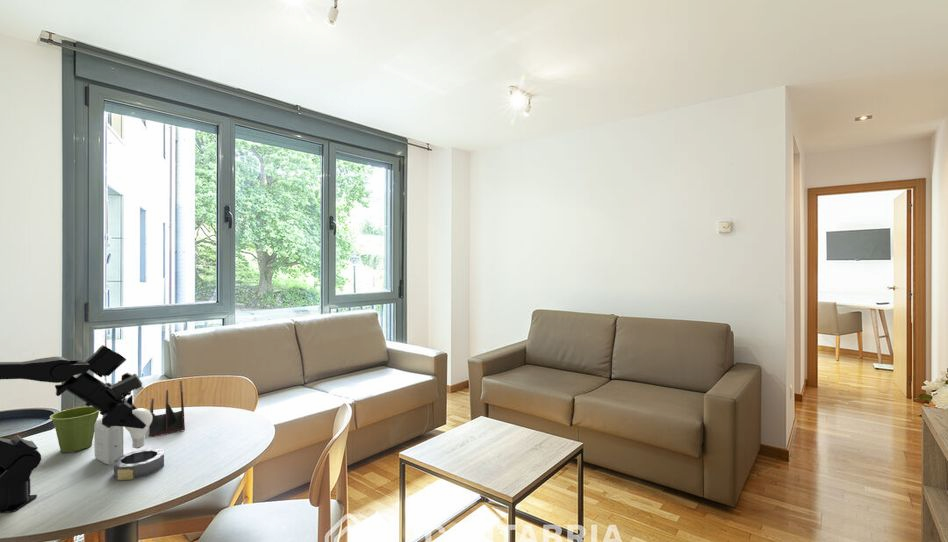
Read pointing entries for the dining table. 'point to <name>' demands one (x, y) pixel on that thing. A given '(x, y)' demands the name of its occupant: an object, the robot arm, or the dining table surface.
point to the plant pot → (75, 427)
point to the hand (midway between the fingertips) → (144, 423)
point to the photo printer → (108, 442)
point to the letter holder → (167, 418)
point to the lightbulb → (139, 433)
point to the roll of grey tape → (138, 464)
